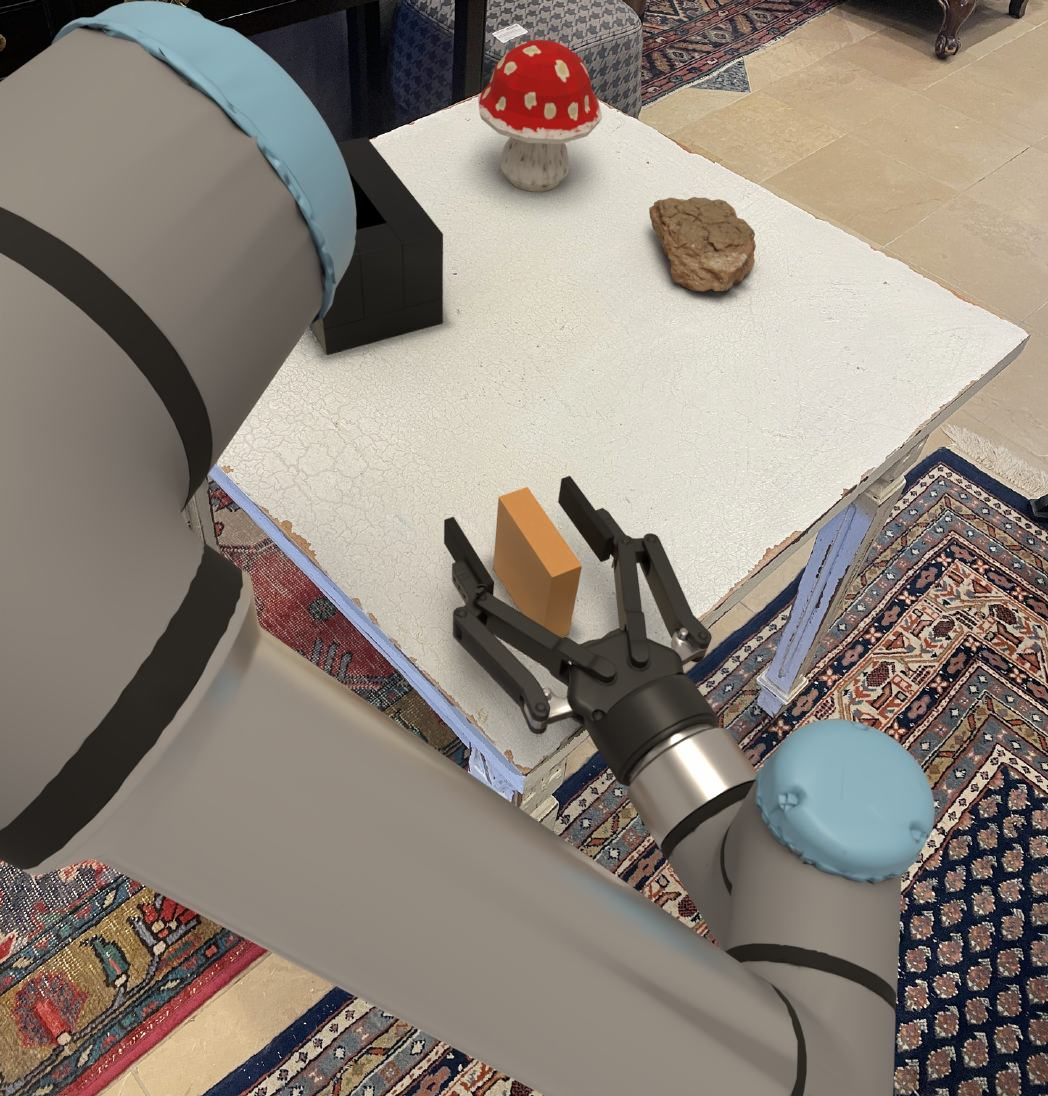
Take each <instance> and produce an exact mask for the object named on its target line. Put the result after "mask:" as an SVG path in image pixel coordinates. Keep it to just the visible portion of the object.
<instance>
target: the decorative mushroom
mask: <svg viewBox="0 0 1048 1096" xmlns="http://www.w3.org/2000/svg"><path fill="white" fill-rule="evenodd" d="M477 101H478V102H477V103H478V112H479V113H478V114H479V116H480V119H481V120H482V121H483V122H484V123H485V124H487V126H489V127H490V128H491V129H493V130H494V131H495V132H496V133H497V134H498V135H502V136H504V137H508V139H507V141H506V143H505V145H504V146H503V148H502V151H501V154H500V165H501V171H502V173H503V175H504V176H505V177H506V179H507V181H509V182H510V183H511V184H512V185H513V186H514V187H515V188H518V189H521V190H524V191H528V192H546V191H549V190H552V189H556V188H557V186H558V185H559V184H561V182H562V181H563V180H564V179H565V178H566V177H567V175H568V174H569V173H570V169H571V168H570V167H571V164H570V158H569V153H568V148H567V145H566V143H569V142H572V141H576V140H579V139H580V140H581V139H582V138H585V137H588V136H589V135H590V133H592V132H593V130H594V129H595V128H596V127H597V126H598V125H599V124H600V122H601V121H602V119H603V115H602V114H603V113H602V110H601V106H600V103H599V102H600V101H599V99H598V97H597V95H596V94H595V93H594V91H593V89H592V83H591V78H590V75H589V70H588V68H587V66H586V64H585V63H584V61H583V59H582V58H581V57H580V56H578V54H576V53H575V52H574V51H573V50H571V49H570V48H569V47H567V46H566V45H564V44H563V43H560V42H556V41H553V40H550V39H549V40H548V39H532V40H528V41H524V42H521V43H520V44H518V45H516V46H514V47H513V48H511V50H509V51H508V52H507V53H506V54H505V55H503V57H502V58H501V59H500V60H499V61H498V62H497V64H495V66H494V69H493V72H492V75H491V78H490V81H489V83H488V85H487V86H486V87H485V88H484V89H483V90H482V91H481V93H480V94H479V95H478V96H477Z"/></svg>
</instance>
